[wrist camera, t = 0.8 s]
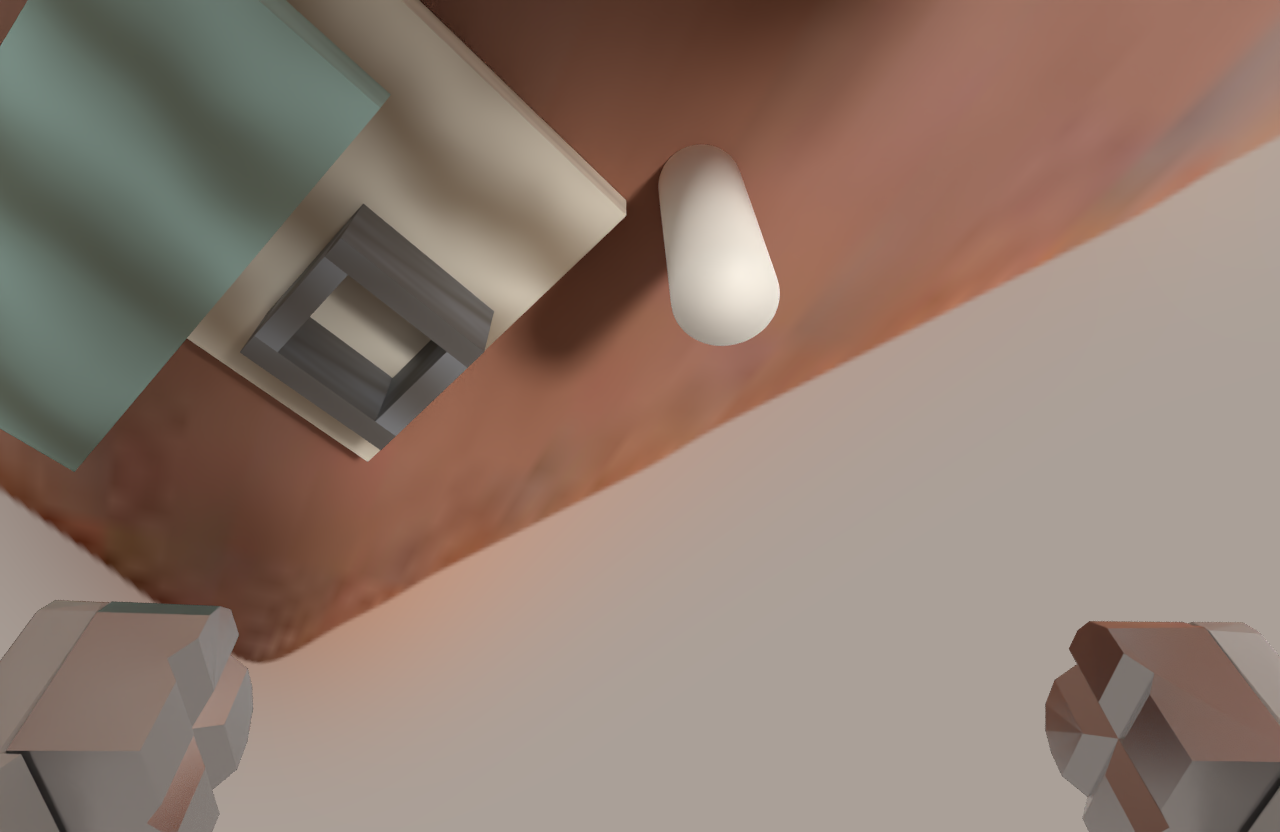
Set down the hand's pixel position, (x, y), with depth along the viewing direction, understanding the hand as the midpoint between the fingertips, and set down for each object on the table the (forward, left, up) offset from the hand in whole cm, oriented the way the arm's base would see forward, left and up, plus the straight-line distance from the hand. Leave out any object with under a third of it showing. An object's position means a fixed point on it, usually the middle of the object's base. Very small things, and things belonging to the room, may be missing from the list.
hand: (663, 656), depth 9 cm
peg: (+3, +8, -36) cm, 37 cm away
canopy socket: (+16, -4, -36) cm, 39 cm away
